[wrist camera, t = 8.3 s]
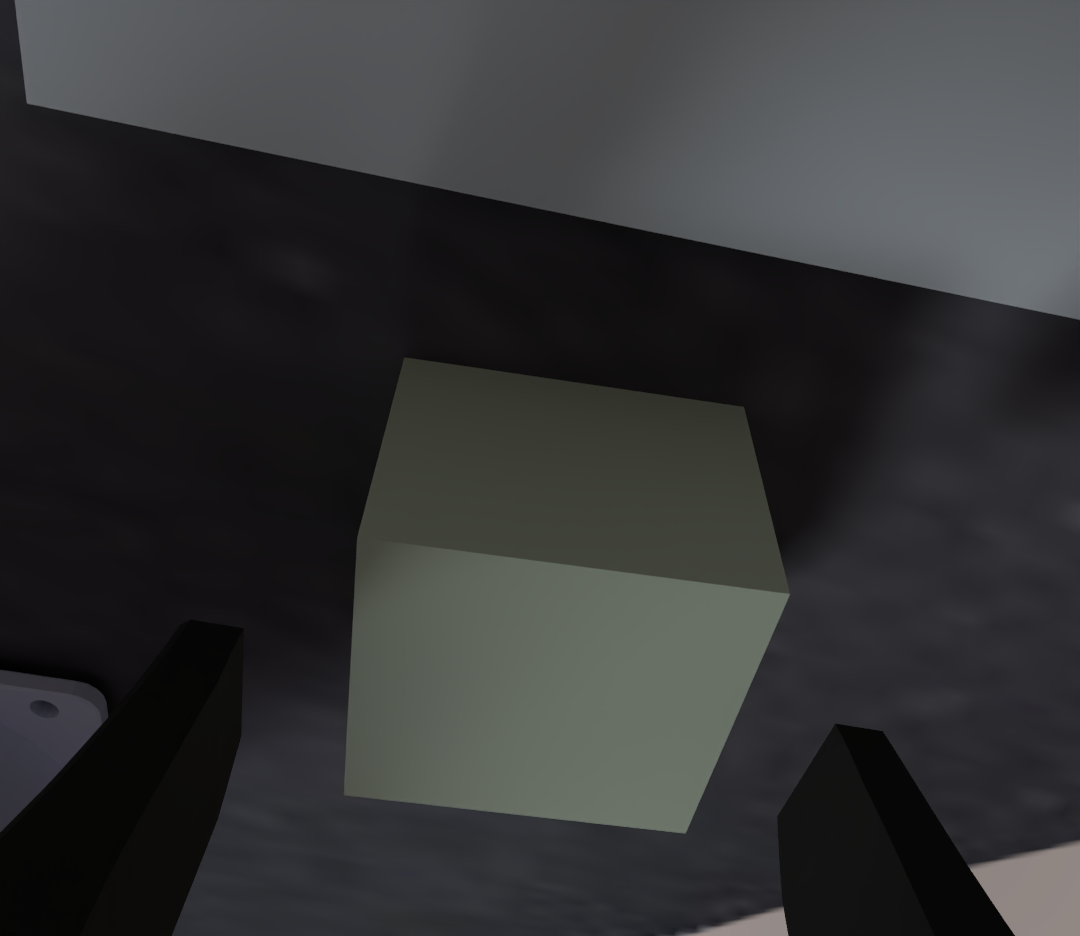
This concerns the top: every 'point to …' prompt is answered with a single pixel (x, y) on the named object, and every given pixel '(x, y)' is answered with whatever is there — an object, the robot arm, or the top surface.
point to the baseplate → (641, 114)
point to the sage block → (556, 598)
